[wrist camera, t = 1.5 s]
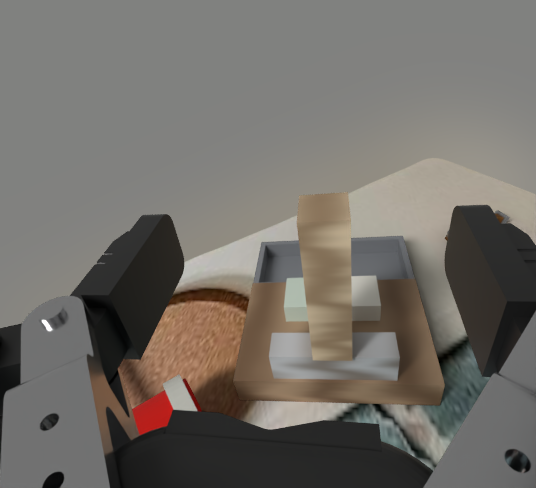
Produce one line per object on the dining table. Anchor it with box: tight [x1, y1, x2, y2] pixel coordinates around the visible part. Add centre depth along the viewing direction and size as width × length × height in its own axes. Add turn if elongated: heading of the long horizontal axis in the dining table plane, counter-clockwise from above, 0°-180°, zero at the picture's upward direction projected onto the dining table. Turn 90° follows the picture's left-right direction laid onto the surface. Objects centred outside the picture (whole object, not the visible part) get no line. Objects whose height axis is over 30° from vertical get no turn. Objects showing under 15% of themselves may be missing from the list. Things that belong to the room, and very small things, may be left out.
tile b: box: [284, 278, 308, 322], centre depth 37 cm, size 4×4×2 cm
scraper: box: [269, 192, 400, 381], centre depth 27 cm, size 10×3×16 cm, turn 84°
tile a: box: [351, 276, 381, 321], centre depth 37 cm, size 4×4×2 cm
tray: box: [253, 236, 415, 283], centre depth 45 cm, size 17×8×2 cm, turn 84°
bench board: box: [233, 279, 445, 405], centre depth 37 cm, size 17×12×3 cm
